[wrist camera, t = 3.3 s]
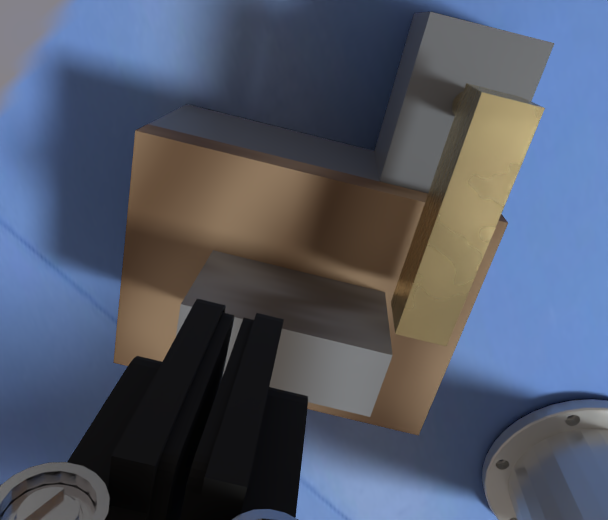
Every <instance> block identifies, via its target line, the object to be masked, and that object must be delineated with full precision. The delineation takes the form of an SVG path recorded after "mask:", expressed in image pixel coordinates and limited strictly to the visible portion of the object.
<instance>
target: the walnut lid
mask: <svg viewBox="0 0 608 520" xmlns="http://www.w3.org/2000/svg"><path fill="white" fill-rule="evenodd" d="M427 195H428V193H424V192H420V191H416V190H412V189H408V188H404V187H400V186H396V185H392V184H388V183H384V182H380V181H376V180H371V179H367V178H363V177H359V176H355V175H351V174H347V173H343V172H339V171H335V170H331V169H327V168H323V167H319V166H315V165H311V164H307V163H303V162H299V161H295V160H291V159H287V158H283V157H279V156H275V155H271V154H267V153H263V152H259V151H255V150H251V149H247V148H242V147H238V146H234V145H230V144H226V143H222V142H218V141H214V140H210V139H206V138H202V137H198V136H194V135H190V134H186V133H182V132H178V131H174V130H170V129H166V128H162V127H158V126H154V125H150V124H147V125H145V126H143V127H141V128H139V129H137V130H135V139H134V150H133V161H132V171H131V182H130V193H129V203H128V214H127V225H126V235H125V246H124V257H123V267H122V278H121V289H120V299H119V310H118V321H117V331H116V342H115V353H114V363H117V364H121V365H125V366H128V365H129V364H130V362H131V361H132V360H133V359H134V357H136V356H140V357H145V358H149V359H153V360H157V361H162V362H163V360H164V358H165V356H166V354H167V352H168V351H169V349H170V347H171V345H172V343H173V341H174V339H175V338H176V336H177V334H178V332H179V330H180V328H181V327H182V325H183V323H184V321H185V319H186V317H187V315H188V314H189V312H190V310H191V308H192V306H193V304H194V303H195V301H196V299H202V300H206V301H210V302H214V303H218V304H223V305H225V306H226V308H225V313H228V314H232V315H234V322H233V327H232V332H231V337H230V342H229V347H228V352H227V357H226V362H225V367H224V371H225V369H226V366H227V363H228V360H229V357H230V354H231V352H232V349H233V346H234V343H235V340H236V337H237V335H238V332H239V329H240V326H241V323H242V320H243V318H249V319H253V320H254V319H255V316H256V313H260V314H264V315H269V316H273V317H277V318H281V319H284V322H283V326H282V331H281V335H280V340H279V345H278V349H277V354H276V358H275V363H274V368H273V372H272V377H271V381H270V386H269V387H272V388H276V389H280V390H284V391H288V392H293V393H297V394H301V395H305V396H308V407H307V409H310V410H314V411H318V412H322V413H327V414H331V415H335V416H339V417H343V418H347V419H352V420H356V421H360V422H364V423H368V424H373V425H377V426H381V427H385V428H389V429H394V430H398V431H402V432H406V433H410V434H415V435H419V433H420V431H421V428H422V426H423V424H424V421H425V419H426V417H427V414H428V412H429V409H430V407H431V405H432V402H433V400H434V398H435V395H436V393H437V390H438V388H439V386H440V383H441V381H442V379H443V376H444V374H445V371H446V369H447V367H448V364H449V362H450V360H451V357H452V355H453V352H454V350H455V348H456V345H457V343H458V341H459V338H460V336H461V334H462V331H463V329H464V326H465V324H466V322H467V319H468V317H469V315H470V312H471V310H472V307H473V305H474V303H475V300H476V298H477V296H478V293H479V291H480V288H481V286H482V284H483V281H484V279H485V277H486V274H487V272H488V269H489V267H490V265H491V262H492V260H493V258H494V255H495V253H496V251H497V248H498V246H499V243H500V241H501V239H502V236H503V234H504V232H505V229H506V227H507V224H508V222H507V221H506V219H505V218H504V217H503V216H502V214H501V216H500V218H499V220H498V223H497V225H496V228H495V230H494V233H493V235H492V237H491V240H490V242H489V245H488V247H487V249H486V252H485V254H484V257H483V259H482V262H481V264H480V266H479V269H478V271H477V274H476V276H475V279H474V281H473V283H472V286H471V288H470V291H469V293H468V296H467V298H466V300H465V303H464V305H463V308H462V310H461V313H460V315H459V317H458V320H457V322H456V325H455V327H454V329H453V332H452V334H451V337H450V339H449V342H448V344H447V346H443V345H439V344H435V343H430V342H426V341H422V340H418V339H414V338H410V337H406V336H402V335H397V334H395V329H394V321H393V314H392V307H391V300H392V297H393V294H394V291H395V288H396V286H397V283H398V280H399V277H400V274H401V271H402V268H403V265H404V262H405V259H406V256H407V254H408V251H409V248H410V245H411V242H412V239H413V236H414V233H415V230H416V227H417V225H418V222H419V219H420V216H421V213H422V210H423V207H424V204H425V201H426V198H427ZM223 374H224V372H223Z"/></svg>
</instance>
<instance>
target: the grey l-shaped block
mask: <svg viewBox="0 0 608 520" xmlns="http://www.w3.org/2000/svg"><path fill="white" fill-rule="evenodd" d="M553 46H554V43H551V42H547V41H543V40H539V39H535V38H531V37H527V36H524V35H520V34H516V33H512V32H508V31H504V30H500V29H496V28H492V27H488V26H484V25H480V24H477V23H473V22H469V21H465V20H461V19H457V18H453V17H449V16H445V15H441V14H437V13H433V12H420V13H414V15H413V19H412V22H411V26H410V29H409V33H408V36H407V40H406V43H405V47H404V50H403V54H402V57H401V60H400V64H399V67H398V71H397V74H396V78H395V81H394V85H393V88H392V92H391V95H390V99H389V102H388V106H387V109H386V112H385V116H384V119H383V123H382V126H381V130H380V133H379V137H378V140H377V144H376V147H375V151H373V150H369V149H365V148H361V147H357V146H353V145H349V144H345V143H341V142H337V141H333V140H329V139H325V138H321V137H317V136H313V135H309V134H305V133H301V132H297V131H293V130H289V129H285V128H281V127H277V126H273V125H269V124H265V123H261V122H257V121H253V120H249V119H245V118H241V117H237V116H233V115H229V114H225V113H221V112H217V111H213V110H209V109H205V108H201V107H196V106H192V105H188V104H185V105H183V106H181V107H179V108H178V109H176V110H174V111H172V112H170V113H168V114H166V115H164V116H162V117H160V118H158V119H157V120H155V121H153V122H151V123H149V124H150V125H154V126H158V127H162V128H166V129H170V130H174V131H178V132H182V133H186V134H190V135H194V136H198V137H202V138H206V139H210V140H214V141H218V142H222V143H226V144H230V145H234V146H238V147H242V148H247V149H251V150H255V151H259V152H263V153H267V154H271V155H275V156H279V157H283V158H287V159H291V160H295V161H299V162H303V163H307V164H311V165H315V166H319V167H323V168H327V169H331V170H335V171H339V172H343V173H347V174H351V175H355V176H359V177H363V178H367V179H371V180H376V181H380V182H384V183H388V184H392V185H396V186H400V187H404V188H408V189H412V190H416V191H420V192H424V193H429V190H430V187H431V184H432V181H433V178H434V175H435V172H436V169H437V166H438V164H439V161H440V158H441V155H442V152H443V149H444V146H445V143H446V140H447V137H448V134H449V132H450V129H451V126H452V123H453V120H454V117H455V115H454V114H453V111H452V103H453V101H454V99H455V97H456V96H457V95H458V94H460V93H461V92H463V91H464V88H465V85H466V83H468V84H472V85H476V86H480V87H484V88H487V89H491V90H495V91H499V92H503V93H507V94H511V95H515V96H519V97H522V98H524V99H527V100H529V101H532V98H533V96H534V93H535V91H536V88H537V86H538V83H539V81H540V78H541V76H542V73H543V71H544V68H545V66H546V63H547V61H548V58H549V56H550V53H551V51H552V48H553Z"/></svg>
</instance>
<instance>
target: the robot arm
mask: <svg viewBox="0 0 608 520" xmlns="http://www.w3.org/2000/svg"><path fill="white" fill-rule="evenodd" d="M225 308H226V306H225V305H223V304H218V303H214V302H210V301H206V300H202V299H196V301H195V303H194V304H193V306H192V308H191V310H190V312H189V314H188V315H187V317H186V319H185V321H184V323H183V325H182V327H181V328H180V330H179V332H178V334H177V336H176V338H175V339H174V341H173V343H172V345H171V347H170V349H169V351H168V352H167V354H166V356H165V358H164V360H163V362H162V361H157V360H153V359H149V358H145V357H140V356H136V357H134V359H133V360H132V361H131V362H130V364H129V365H128V367H127V369H126V370H125V372H124V373H123V375H122V377H121V378H120V380H119V381H118V383H117V384H116V386H115V388H114V389H113V391H112V392H111V394H110V395H109V397H108V399H107V400H106V402H105V403H104V405H103V407H102V408H101V410H100V411H99V413H98V414H97V416H96V418H95V419H94V421H93V422H92V424H91V426H90V427H89V429H88V430H87V432H86V433H85V435H84V437H83V438H82V440H81V441H80V443H79V444H78V446H77V448H76V449H75V451H74V452H73V454H72V456H71V457H70V459H69V460H68V462H58V463H46V464H42V465H38V466H33V467H30V468H28V469H26V470H24V471H22V472H20V473H18V474H16V475H13V476H12V477H11V478H10V479H8V480H7V481H6V482H5V483H3V484H2V485H1V486H0V520H298V519H296V518H295V517H296V507H297V498H298V489H299V480H300V471H301V462H302V453H303V443H304V434H305V425H306V416H307V407H308V396H305V395H301V394H297V393H293V392H288V391H284V390H280V389H276V388H272V387H269V386H270V381H271V377H272V372H273V368H274V363H275V358H276V354H277V349H278V345H279V340H280V335H281V331H282V326H283V322H284V319H281V318H277V317H273V316H269V315H264V314H260V313H256V316H255V319H254V320H253V319H249V318H243V320H242V323H241V326H240V329H239V332H238V335H237V337H236V340H235V343H234V346H233V349H232V352H231V354H230V357H229V360H228V363H227V366H226V369H225V371H224V367H225V362H226V357H227V352H228V347H229V342H230V337H231V332H232V327H233V322H234V315H232V314H228V313H225ZM223 372H224V374H223ZM482 483H483V487H484V491H485V496H486V499H487V501H488V504H489V507H490V509H491V510H492V512H493V513H494V515H495V516H496V517H497V519H498V520H608V401H606V400H594V399H587V400H573V401H567V402H562V403H558V404H553V405H550V406H547V407H544V408H542V409H539V410H536V411H534V412H532V413H530V414H528V415H526V416H524V417H523V418H521V419H519V420H517V421H516V422H515V423H513V424H512V425H511V426H510V427H508V428H507V429H506V430H505V431H504V432H503V433H502V434H501V435H500V436H499V437H498V438H497V439H496V441H495V442H494V443H493V445H492V446H491V448H490V450H489V452H488V453H487V455H486V458H485V462H484V465H483V470H482Z"/></svg>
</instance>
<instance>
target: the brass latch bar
mask: <svg viewBox="0 0 608 520" xmlns="http://www.w3.org/2000/svg"><path fill="white" fill-rule="evenodd" d="M544 109H545V108H544V107H541V106H539V105H537V104H535V103H533V102H531V101H529V100H527V99H524V98H522V97H519V96H515V95H511V94H507V93H503V92H499V91H495V90H491V89H487V88H484V87H480V86H476V85H472V84H468V83H466V85H465V88H464V91H463V92H461V93H460V94H458V95H457V96H456V97H455V99H454V101H453V103H452V111H453V114H454V115H455V117H454V120H453V123H452V126H451V129H450V132H449V134H448V137H447V140H446V143H445V146H444V149H443V152H442V155H441V158H440V161H439V164H438V166H437V169H436V172H435V175H434V178H433V181H432V184H431V187H430V190H429V193H428V195H427V198H426V201H425V204H424V207H423V210H422V213H421V216H420V219H419V222H418V225H417V227H416V230H415V233H414V236H413V239H412V242H411V245H410V248H409V251H408V254H407V256H406V259H405V262H404V265H403V268H402V271H401V274H400V277H399V280H398V283H397V286H396V288H395V291H394V294H393V297H392V300H391V307H392V314H393V321H394V329H395V334H397V335H402V336H406V337H410V338H414V339H418V340H422V341H426V342H430V343H435V344H439V345H443V346H447V344H448V342H449V339H450V337H451V334H452V332H453V329H454V327H455V325H456V322H457V320H458V317H459V315H460V313H461V310H462V308H463V305H464V303H465V300H466V298H467V296H468V293H469V291H470V288H471V286H472V283H473V281H474V279H475V276H476V274H477V271H478V269H479V266H480V264H481V262H482V259H483V257H484V254H485V252H486V249H487V247H488V245H489V242H490V240H491V237H492V235H493V233H494V230H495V228H496V225H497V223H498V220H499V218H500V216H501V213H502V211H503V208H504V206H505V203H506V201H507V199H508V196H509V194H510V191H511V189H512V186H513V184H514V182H515V179H516V177H517V174H518V172H519V169H520V167H521V165H522V162H523V160H524V157H525V155H526V152H527V150H528V148H529V145H530V143H531V140H532V138H533V136H534V133H535V131H536V128H537V126H538V123H539V121H540V119H541V116H542V114H543V111H544Z"/></svg>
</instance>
